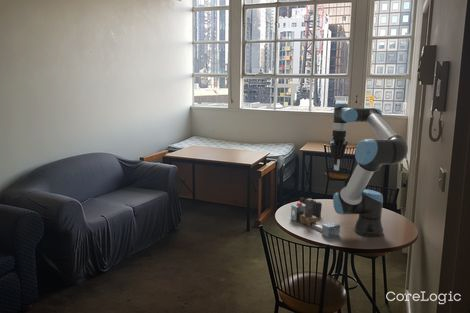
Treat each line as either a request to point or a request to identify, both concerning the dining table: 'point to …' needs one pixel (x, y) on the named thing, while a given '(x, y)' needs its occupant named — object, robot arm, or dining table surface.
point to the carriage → (308, 213)
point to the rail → (326, 229)
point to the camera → (314, 207)
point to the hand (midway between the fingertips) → (336, 169)
